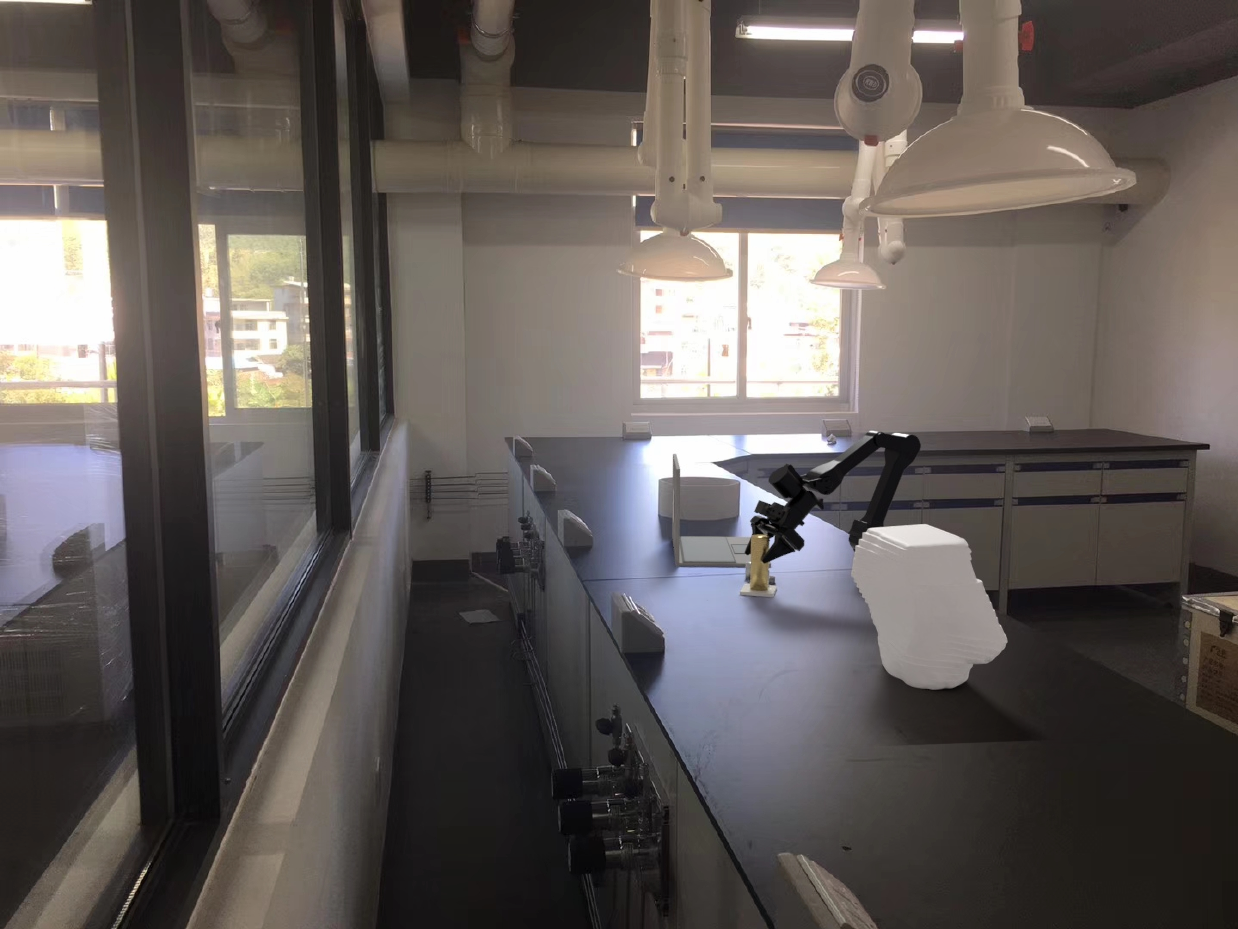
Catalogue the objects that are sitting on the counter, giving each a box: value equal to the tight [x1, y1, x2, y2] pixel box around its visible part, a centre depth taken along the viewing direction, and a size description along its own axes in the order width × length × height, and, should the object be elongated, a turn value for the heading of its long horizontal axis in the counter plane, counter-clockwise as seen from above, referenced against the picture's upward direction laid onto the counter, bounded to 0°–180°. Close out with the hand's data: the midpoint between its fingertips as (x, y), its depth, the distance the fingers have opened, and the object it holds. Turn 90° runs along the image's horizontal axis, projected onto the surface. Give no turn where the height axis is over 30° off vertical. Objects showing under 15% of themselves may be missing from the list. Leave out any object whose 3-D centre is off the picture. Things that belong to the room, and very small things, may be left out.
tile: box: [739, 583, 778, 598], centre depth 227 cm, size 8×8×1 cm
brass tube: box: [749, 534, 771, 591], centre depth 226 cm, size 4×4×13 cm
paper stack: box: [850, 523, 1008, 691], centre depth 168 cm, size 21×27×26 cm
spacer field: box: [744, 562, 776, 585], centre depth 236 cm, size 8×10×4 cm
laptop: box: [671, 453, 772, 568], centre depth 268 cm, size 35×26×27 cm
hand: (754, 558), depth 225 cm, fingers open, 9 cm apart
